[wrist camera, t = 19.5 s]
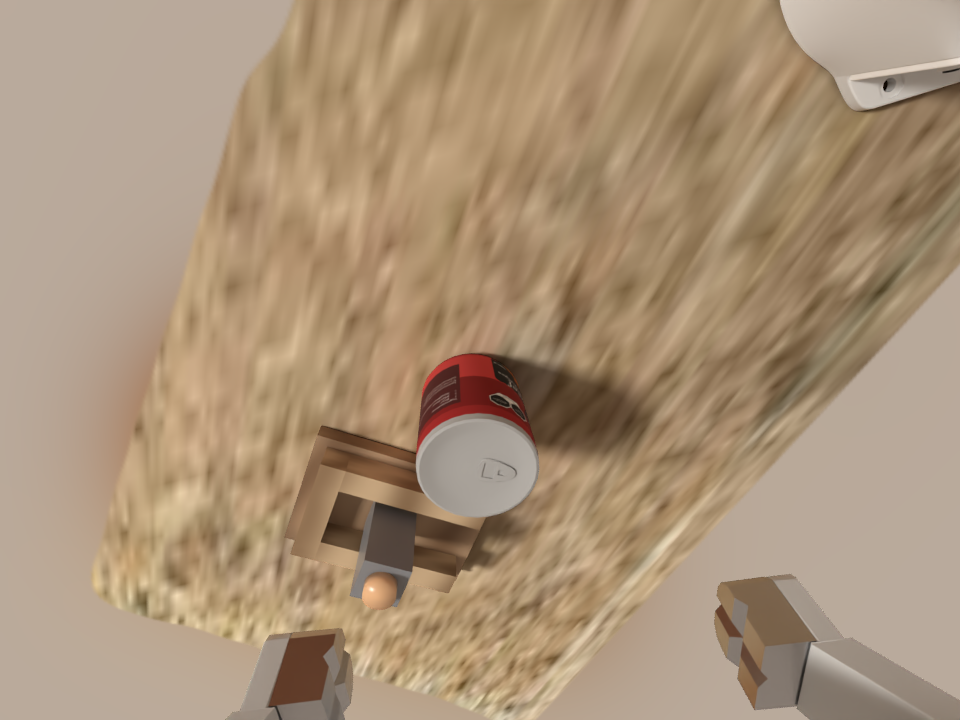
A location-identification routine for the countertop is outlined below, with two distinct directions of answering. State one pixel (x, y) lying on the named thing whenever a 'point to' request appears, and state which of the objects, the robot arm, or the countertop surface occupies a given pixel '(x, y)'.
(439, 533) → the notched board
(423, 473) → the canned food
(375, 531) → the block with orange ball
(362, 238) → the countertop surface
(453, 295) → the countertop surface
